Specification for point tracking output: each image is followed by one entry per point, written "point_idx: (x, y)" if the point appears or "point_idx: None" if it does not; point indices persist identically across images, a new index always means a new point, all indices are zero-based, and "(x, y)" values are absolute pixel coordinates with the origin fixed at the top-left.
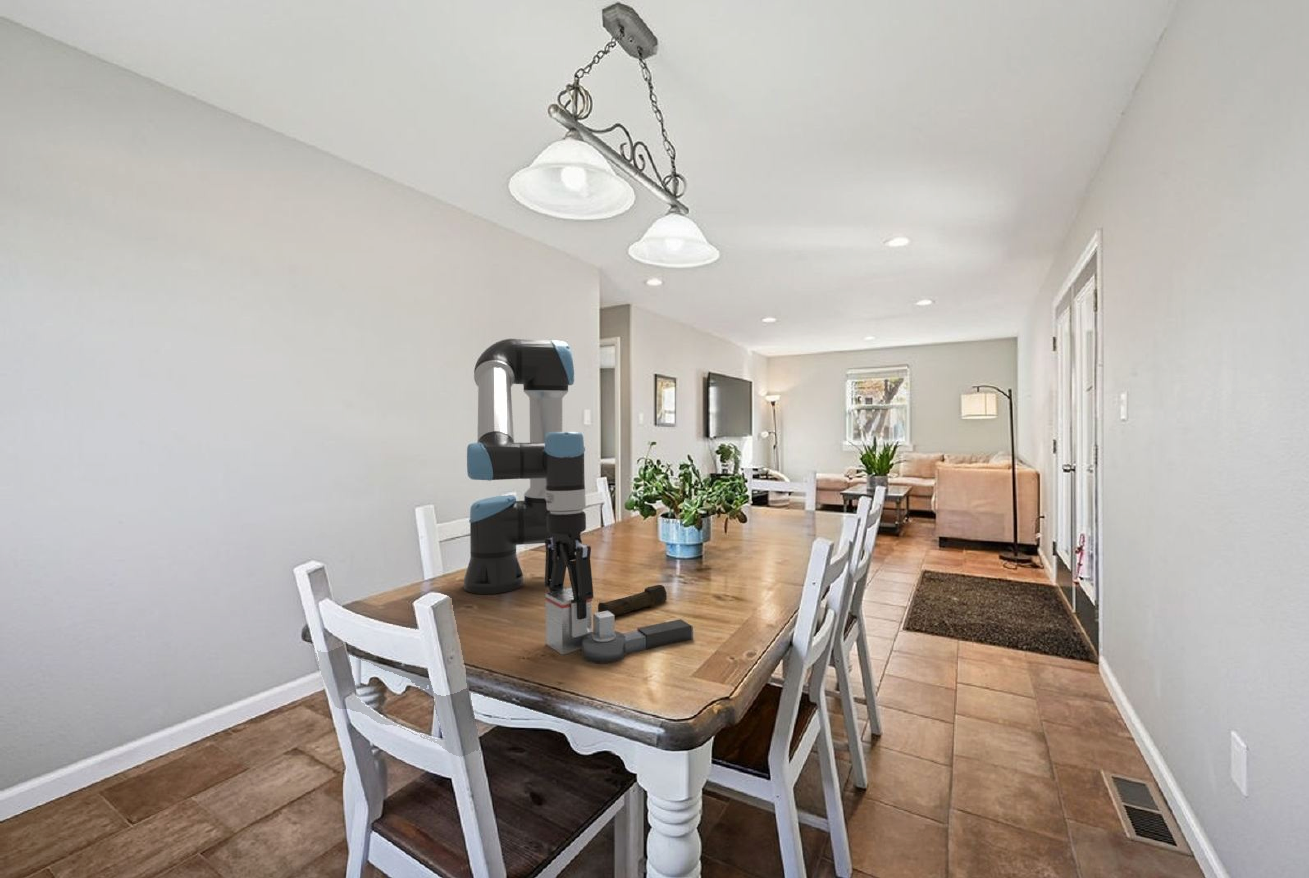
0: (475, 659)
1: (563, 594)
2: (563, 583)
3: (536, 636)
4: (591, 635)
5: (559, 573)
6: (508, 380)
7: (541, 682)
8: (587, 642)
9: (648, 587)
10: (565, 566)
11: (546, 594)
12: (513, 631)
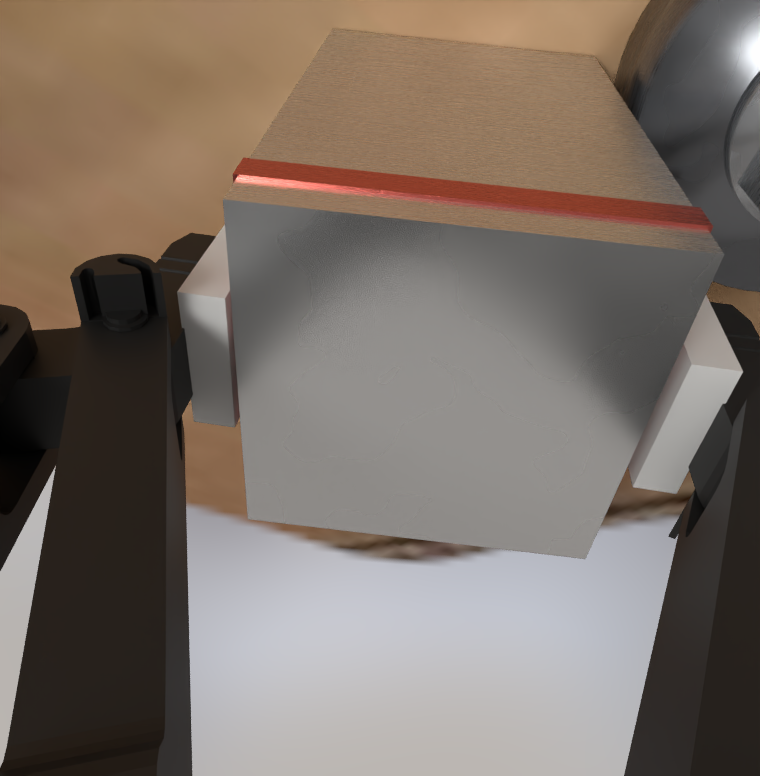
0: (274, 528)
1: (410, 448)
2: (164, 362)
3: (173, 233)
4: (694, 164)
5: (181, 580)
6: None
7: (679, 490)
8: (754, 270)
9: None
10: (171, 635)
11: (271, 516)
12: (19, 284)
